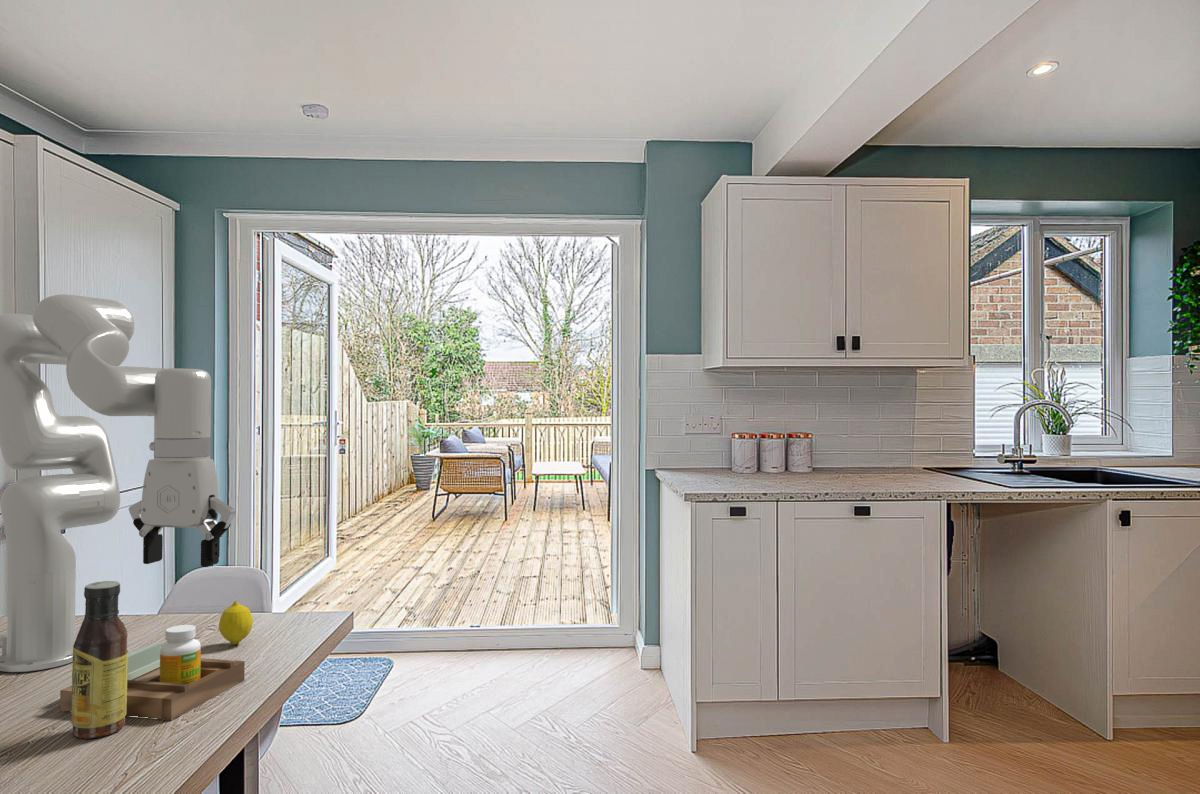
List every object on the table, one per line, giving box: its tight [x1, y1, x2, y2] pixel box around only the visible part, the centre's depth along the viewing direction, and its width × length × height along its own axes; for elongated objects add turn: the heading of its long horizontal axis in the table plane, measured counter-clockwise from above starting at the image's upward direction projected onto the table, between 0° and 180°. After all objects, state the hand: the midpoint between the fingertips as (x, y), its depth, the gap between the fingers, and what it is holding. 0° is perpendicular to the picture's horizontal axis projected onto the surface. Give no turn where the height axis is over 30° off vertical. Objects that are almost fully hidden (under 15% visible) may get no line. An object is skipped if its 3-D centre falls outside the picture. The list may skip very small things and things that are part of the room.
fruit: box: [218, 600, 254, 646], centre depth 140 cm, size 6×6×8 cm
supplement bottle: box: [160, 624, 202, 684], centre depth 115 cm, size 5×5×10 cm
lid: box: [127, 641, 164, 680], centre depth 117 cm, size 8×8×4 cm
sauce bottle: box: [71, 580, 129, 740], centre depth 103 cm, size 6×6×20 cm
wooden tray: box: [59, 657, 245, 721], centre depth 116 cm, size 18×16×4 cm
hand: (181, 563), depth 115 cm, fingers open, 9 cm apart
